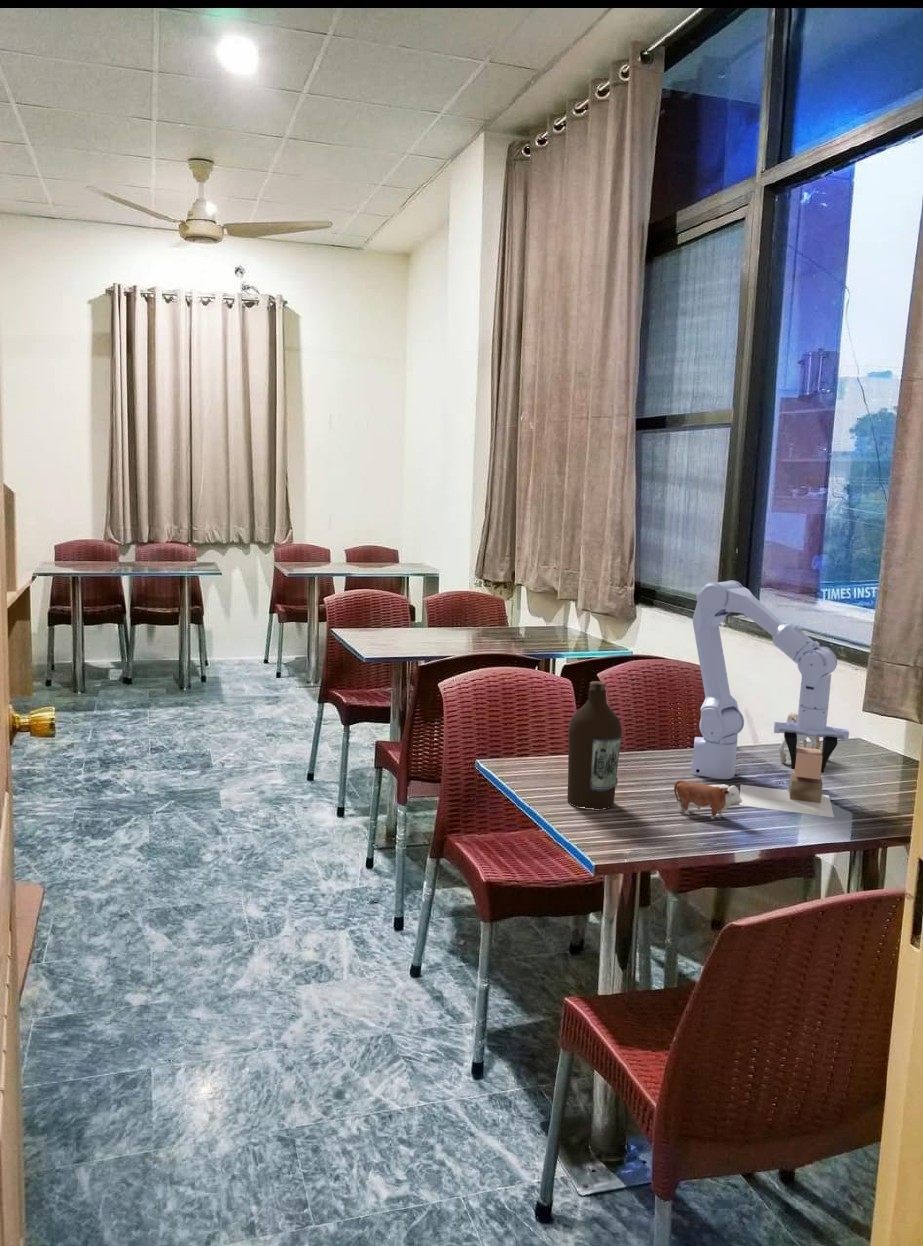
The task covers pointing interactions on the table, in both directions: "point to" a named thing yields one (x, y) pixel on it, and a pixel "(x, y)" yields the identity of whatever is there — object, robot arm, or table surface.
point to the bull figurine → (706, 796)
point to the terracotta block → (808, 763)
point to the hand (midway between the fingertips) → (807, 769)
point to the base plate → (782, 801)
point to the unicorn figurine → (798, 738)
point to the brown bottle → (593, 752)
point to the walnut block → (805, 789)
